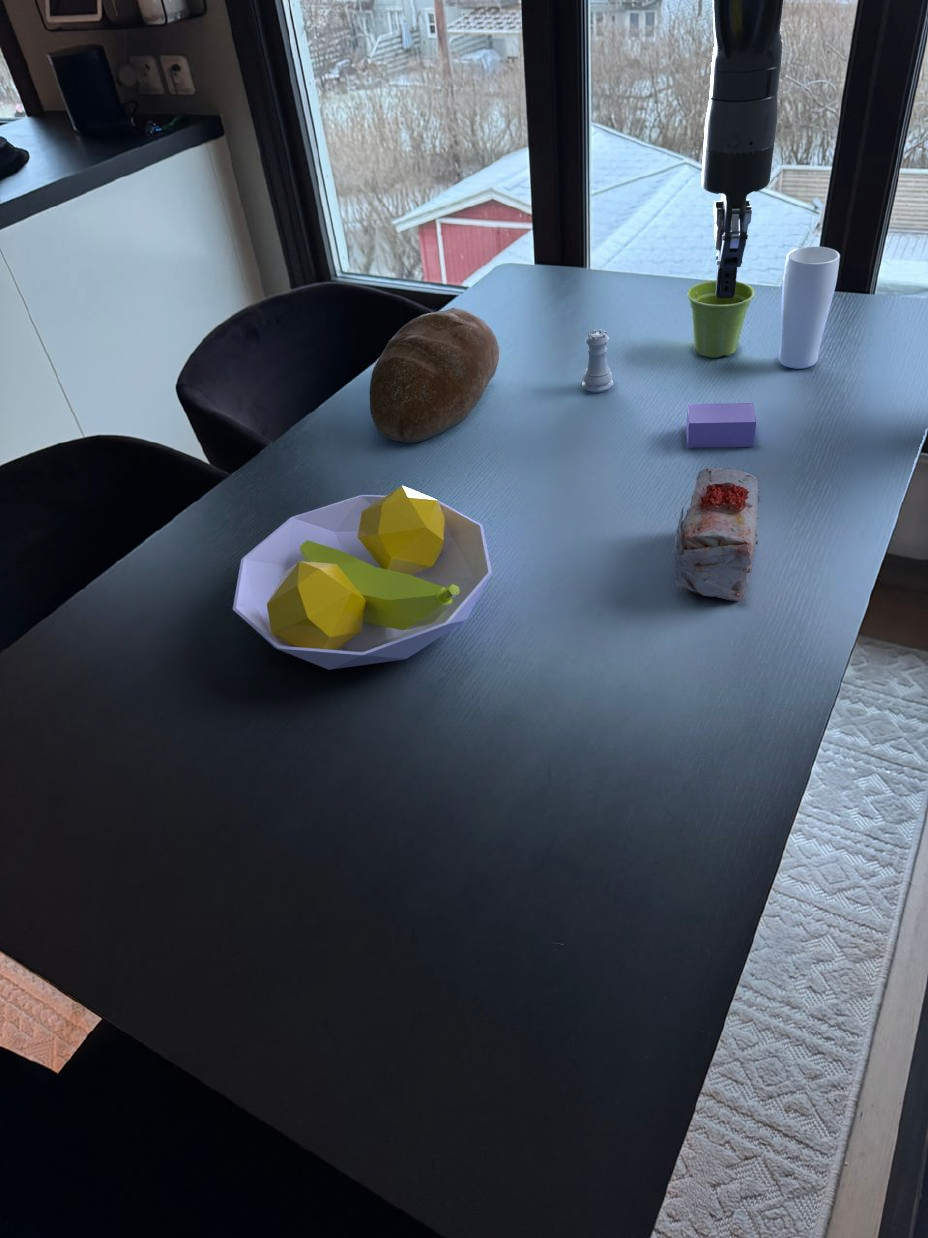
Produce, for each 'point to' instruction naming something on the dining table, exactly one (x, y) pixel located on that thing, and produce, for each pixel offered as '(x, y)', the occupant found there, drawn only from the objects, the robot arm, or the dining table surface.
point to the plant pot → (718, 318)
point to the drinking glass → (806, 303)
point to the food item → (718, 535)
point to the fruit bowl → (364, 579)
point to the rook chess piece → (597, 364)
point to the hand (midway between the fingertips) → (724, 295)
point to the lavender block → (720, 425)
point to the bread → (432, 374)
